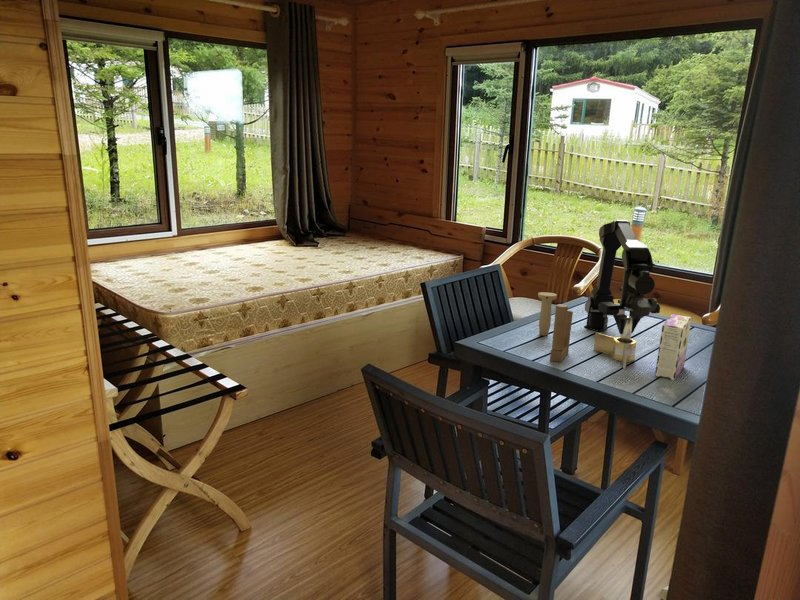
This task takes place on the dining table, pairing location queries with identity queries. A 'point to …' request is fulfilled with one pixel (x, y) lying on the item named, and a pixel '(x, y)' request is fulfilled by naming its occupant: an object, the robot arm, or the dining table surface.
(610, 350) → the hinge
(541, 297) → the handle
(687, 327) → the candy box
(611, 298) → the robot arm
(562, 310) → the wooden block
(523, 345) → the dining table surface
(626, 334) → the pin
